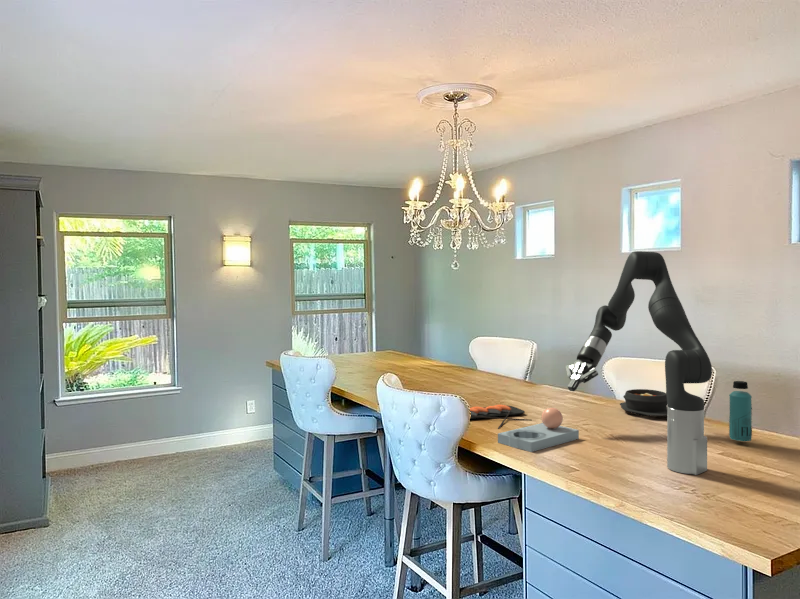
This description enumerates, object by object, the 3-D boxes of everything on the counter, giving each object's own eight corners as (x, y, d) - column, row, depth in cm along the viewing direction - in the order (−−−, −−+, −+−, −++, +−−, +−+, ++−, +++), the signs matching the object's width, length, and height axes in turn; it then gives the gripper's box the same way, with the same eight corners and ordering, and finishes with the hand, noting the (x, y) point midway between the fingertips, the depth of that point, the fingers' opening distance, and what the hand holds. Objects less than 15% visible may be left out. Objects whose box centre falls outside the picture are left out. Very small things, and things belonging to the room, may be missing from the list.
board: (578, 438, 197) (578, 429, 197) (530, 452, 182) (530, 442, 182) (545, 430, 208) (545, 422, 208) (497, 442, 194) (497, 433, 193)
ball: (567, 428, 199) (567, 408, 199) (553, 432, 195) (553, 410, 194) (550, 424, 204) (550, 404, 204) (537, 428, 200) (537, 407, 200)
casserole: (687, 419, 223) (687, 397, 222) (641, 421, 220) (641, 399, 220) (650, 406, 247) (650, 386, 247) (608, 407, 245) (608, 387, 244)
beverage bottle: (740, 446, 185) (740, 383, 185) (723, 441, 192) (724, 380, 191) (757, 445, 187) (757, 382, 187) (739, 439, 194) (740, 379, 193)
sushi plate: (509, 409, 246) (509, 400, 246) (549, 425, 218) (549, 415, 217) (445, 415, 237) (445, 405, 237) (478, 433, 208) (478, 422, 208)
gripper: (571, 343, 216) (550, 380, 209) (603, 346, 205) (582, 385, 198) (580, 356, 219) (560, 393, 212) (612, 360, 209) (591, 399, 202)
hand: (570, 389), depth 205 cm, fingers closed
